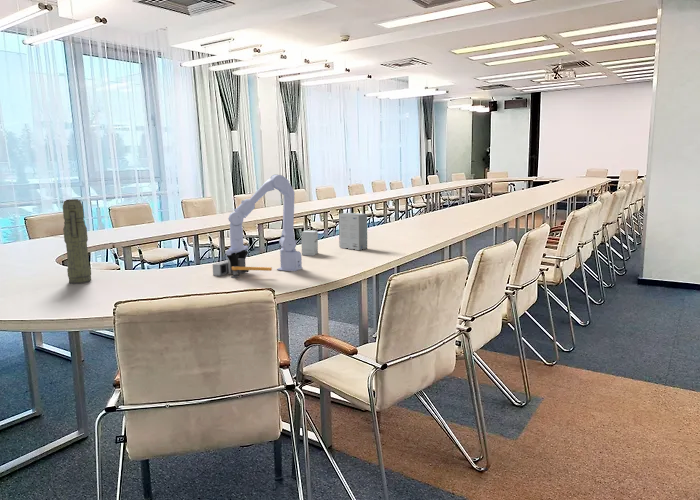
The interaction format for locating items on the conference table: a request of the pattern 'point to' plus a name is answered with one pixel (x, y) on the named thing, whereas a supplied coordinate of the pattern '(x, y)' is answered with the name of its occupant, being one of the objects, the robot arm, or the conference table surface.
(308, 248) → the supplement box
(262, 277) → the conference table surface
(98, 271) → the conference table surface
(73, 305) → the conference table surface
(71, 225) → the carved stone statue
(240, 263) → the plug
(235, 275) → the lever handle base
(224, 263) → the socket
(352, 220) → the hard drive box
